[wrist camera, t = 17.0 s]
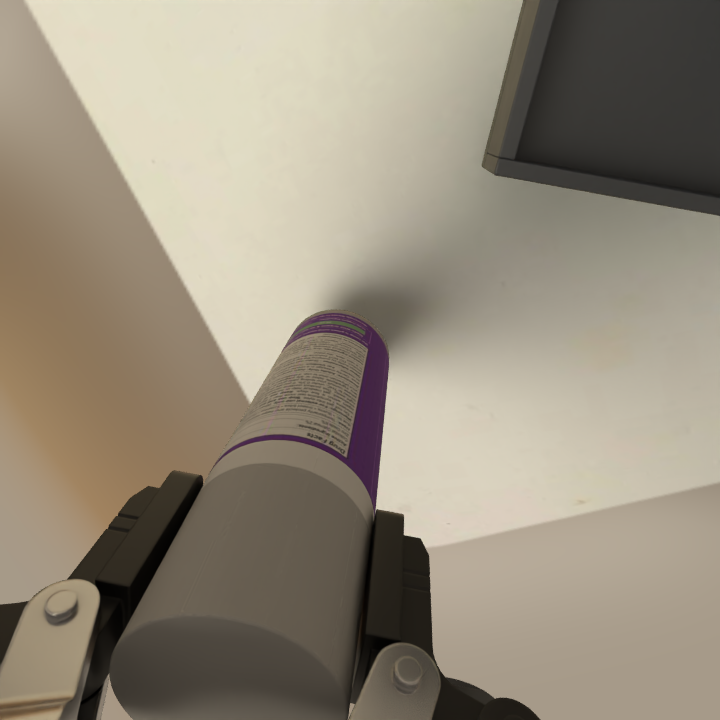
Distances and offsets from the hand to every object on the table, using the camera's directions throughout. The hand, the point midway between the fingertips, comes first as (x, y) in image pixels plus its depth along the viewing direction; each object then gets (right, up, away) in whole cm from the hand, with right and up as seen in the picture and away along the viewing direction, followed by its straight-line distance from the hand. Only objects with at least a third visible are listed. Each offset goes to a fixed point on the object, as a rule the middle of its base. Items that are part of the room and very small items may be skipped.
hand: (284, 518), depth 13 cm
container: (+1, +4, +10) cm, 11 cm away
